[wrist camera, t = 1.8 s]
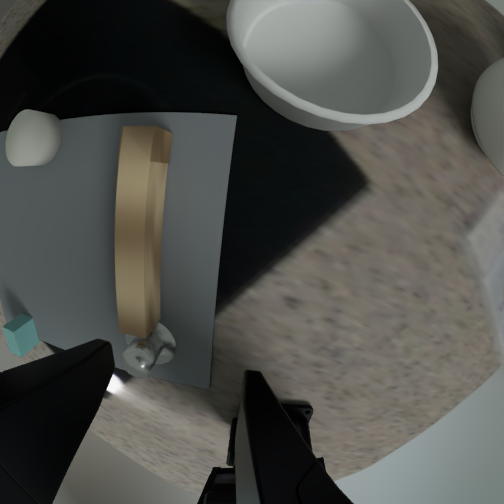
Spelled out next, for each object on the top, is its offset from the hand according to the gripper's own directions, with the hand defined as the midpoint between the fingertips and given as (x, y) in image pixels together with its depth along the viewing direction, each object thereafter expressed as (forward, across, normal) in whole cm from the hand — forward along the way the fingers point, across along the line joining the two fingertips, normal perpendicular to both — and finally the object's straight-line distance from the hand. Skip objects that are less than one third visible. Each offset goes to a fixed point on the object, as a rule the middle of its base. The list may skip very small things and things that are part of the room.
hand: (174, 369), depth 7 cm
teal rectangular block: (+12, +20, +11) cm, 26 cm away
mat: (+12, +13, +2) cm, 18 cm away
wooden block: (+12, +6, -1) cm, 13 cm away
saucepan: (+12, -4, -18) cm, 22 cm away
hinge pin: (+12, +6, +8) cm, 15 cm away
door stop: (+12, +16, -8) cm, 22 cm away
